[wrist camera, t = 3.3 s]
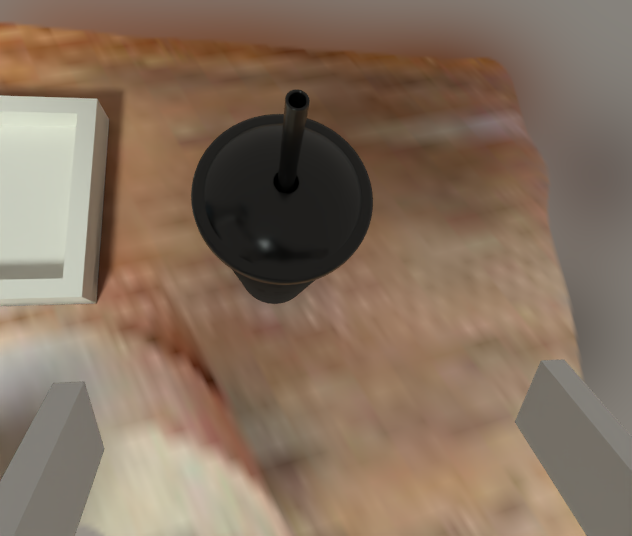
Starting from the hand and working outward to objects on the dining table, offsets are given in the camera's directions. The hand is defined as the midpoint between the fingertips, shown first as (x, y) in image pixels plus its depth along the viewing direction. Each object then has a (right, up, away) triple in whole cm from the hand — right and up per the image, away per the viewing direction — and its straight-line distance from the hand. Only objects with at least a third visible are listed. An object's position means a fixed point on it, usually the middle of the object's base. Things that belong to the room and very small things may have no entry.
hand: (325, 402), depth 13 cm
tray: (-23, +8, +17) cm, 30 cm away
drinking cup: (-3, +4, +19) cm, 19 cm away
